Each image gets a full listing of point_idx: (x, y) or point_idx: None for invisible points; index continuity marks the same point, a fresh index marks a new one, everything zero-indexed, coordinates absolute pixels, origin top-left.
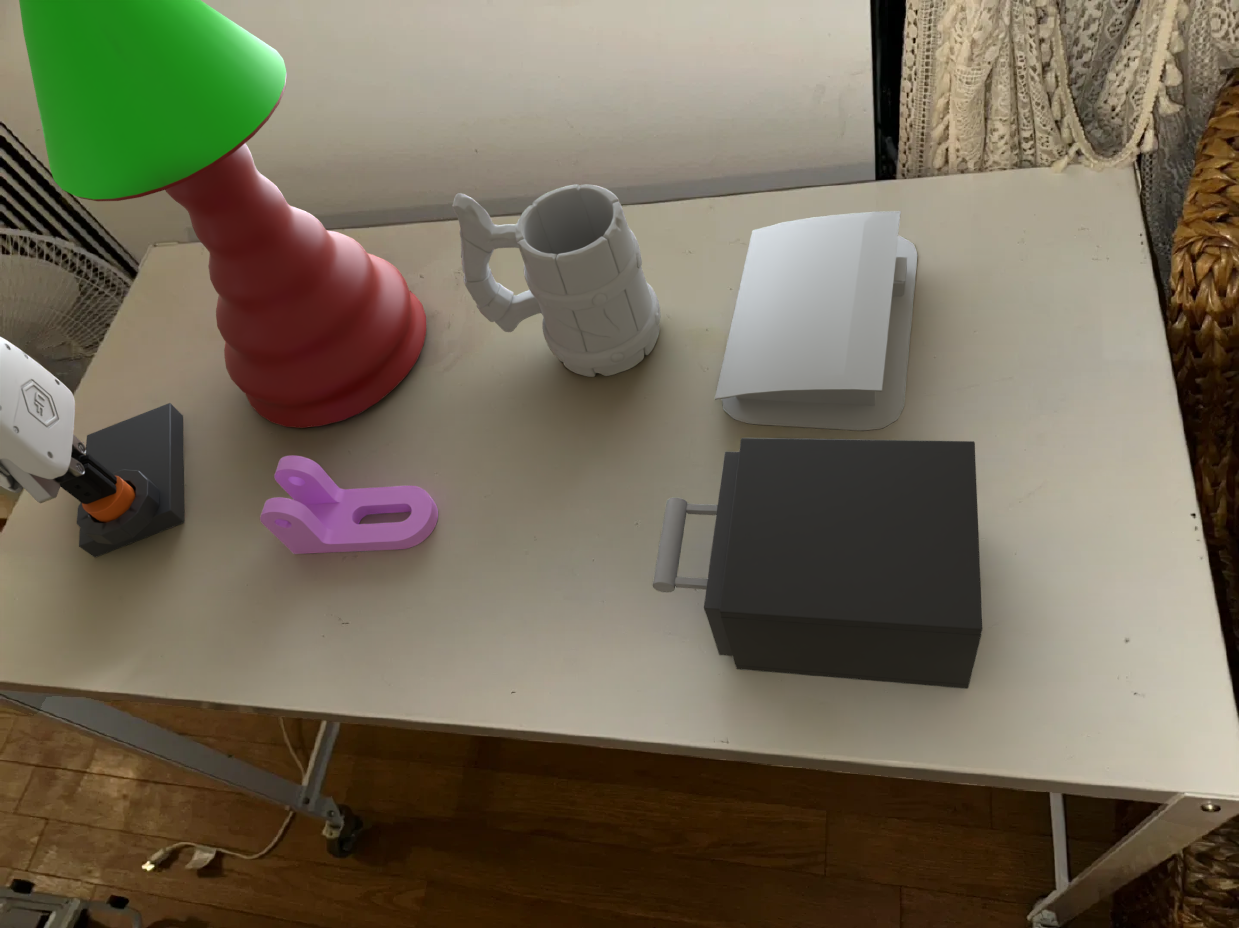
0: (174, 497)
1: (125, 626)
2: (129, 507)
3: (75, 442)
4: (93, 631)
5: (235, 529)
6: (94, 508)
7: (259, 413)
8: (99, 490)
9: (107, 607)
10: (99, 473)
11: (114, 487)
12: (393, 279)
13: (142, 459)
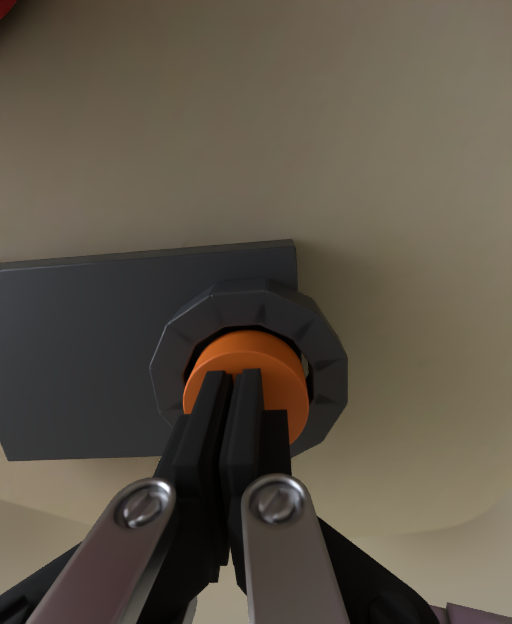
0: (243, 247)
1: (497, 349)
2: (280, 341)
3: (123, 546)
4: (471, 408)
5: (369, 95)
6: (291, 425)
7: (4, 5)
8: (276, 413)
9: (430, 387)
10: (241, 415)
11: (254, 372)
12: None
13: (106, 333)
